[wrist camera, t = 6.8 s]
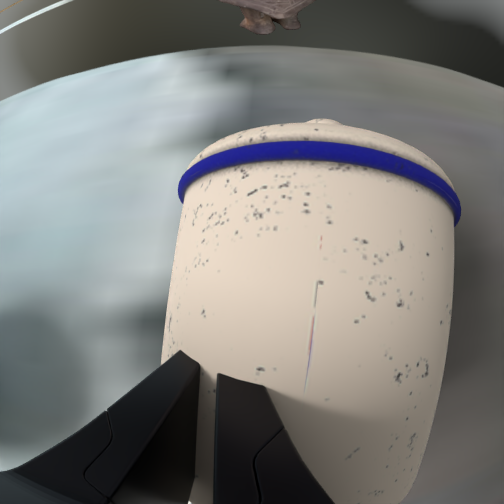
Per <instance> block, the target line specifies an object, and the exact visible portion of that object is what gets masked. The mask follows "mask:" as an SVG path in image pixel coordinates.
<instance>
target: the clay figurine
mask: <svg viewBox="0 0 504 504" xmlns="http://www.w3.org/2000/svg"><path fill="white" fill-rule="evenodd" d="M219 1H221V2H224V3H229V4H232V5H235V6H239V7H240V9H241V11H242V13H243V14H244V16H245V19H244V20H243V21H242V22H241V24H240V26H241V27H244V28H246V29H248V30H249V31H251V32H254V33H255V34H263V35H267V34H269V33H272V32H273V31H274V30H275V25H274V23H273V21H274V22H277V23H279V24H280V25H282V26H283V28H284V29H287V30H293V29H299V28H300V27H301V24H300V22H299V21H298V18H297V15H298V12H299V11H301V10H302V9H303V8H305V7H307V6H308V5H310V4H311V3H313V2H314V1H315V0H219Z"/></svg>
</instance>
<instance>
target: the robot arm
mask: <svg viewBox="0 0 504 504" xmlns="http://www.w3.org/2000/svg"><path fill="white" fill-rule="evenodd" d="M199 386H200V364H199V363H198V362H197V361H195V360H193V359H192V358H190V357H189V356H188V355H187V354H185V353H184V352H183V351H182V350H179V351H178V352H176V353H175V354H174V355H173V356H172V357H170V358H169V359H168V360H167V361H166V362H164V363H163V364H162V365H161V366H159V367H158V368H157V369H156V370H155V371H153V372H152V373H151V374H150V375H149V376H147V377H146V378H145V379H144V380H142V381H141V382H140V383H139V384H138V385H136V386H135V387H134V388H133V389H131V390H130V391H129V392H128V393H126V394H125V395H124V396H123V397H121V398H120V399H119V400H118V401H116V402H115V403H114V404H113V405H111V406H110V407H109V408H108V409H107V411H104V412H103V413H101V414H100V415H99V416H97V417H96V418H95V419H94V420H92V421H91V422H90V423H88V424H87V425H86V426H84V427H83V428H82V429H80V430H79V431H77V432H76V433H74V434H73V435H71V436H70V437H68V438H67V439H65V440H63V441H62V442H60V443H59V444H57V445H55V446H54V447H52V448H50V449H49V450H47V451H45V452H44V453H42V454H40V455H38V456H37V457H35V458H33V459H32V460H30V461H28V462H26V463H25V464H23V465H21V466H19V467H17V468H14V469H11V470H7V471H2V472H0V504H188V502H189V498H190V494H191V490H192V486H193V482H194V478H195V460H196V437H197V418H198V401H199ZM213 504H335V503H334V502H333V500H332V499H331V498H330V497H329V495H328V494H327V493H326V491H325V490H324V489H323V488H322V486H321V485H320V484H319V482H318V481H317V480H316V478H315V477H314V476H313V474H312V473H311V471H310V470H309V468H308V467H307V465H306V464H305V463H304V461H303V460H302V458H301V456H300V454H299V453H298V451H297V449H296V447H295V445H294V444H293V442H292V440H291V438H290V436H289V434H288V432H287V430H286V429H285V426H284V424H283V422H282V420H281V418H280V416H279V414H278V412H277V410H276V408H275V406H274V404H273V401H272V399H271V397H270V395H269V393H268V391H267V389H266V387H265V386H263V385H259V384H255V383H251V382H247V381H243V380H239V379H236V378H233V377H230V376H227V375H224V374H221V373H217V381H216V405H215V434H214V472H213Z"/></svg>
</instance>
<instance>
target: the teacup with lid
mask: <svg viewBox="0 0 504 504" xmlns="http://www.w3.org/2000/svg"><path fill="white" fill-rule="evenodd" d="M178 195H179V198H180V200H181V202H182V204H183V208H182V214H181V220H180V225H179V231H178V237H177V243H176V249H175V256H174V262H173V269H172V276H171V283H170V290H169V298H168V305H167V313H166V322H165V330H164V339H163V349H162V359H161V365H162V364H163V363H164V362H166V361H167V360H168V359H169V358H170V357H172V356H173V355H174V354H175V353H176V352H178V351H179V350H182V351H183V352H184V353H185V354H187V355H188V356H189V357H190V358H192V359H193V360H195V361H197V362H198V363H199V364H200V386H199V401H198V418H197V437H196V460H195V478H194V482H193V486H192V490H191V494H190V498H189V501H190V502H191V503H192V504H213V472H214V434H215V405H216V381H217V373H221V374H224V375H227V376H230V377H233V378H236V379H239V380H243V381H247V382H251V383H255V384H259V385H263V386H265V387H266V389H267V391H268V393H269V395H270V397H271V399H272V401H273V404H274V406H275V408H276V410H277V412H278V414H279V416H280V418H281V420H282V422H283V424H284V426H285V429H286V430H287V432H288V434H289V436H290V438H291V440H292V442H293V444H294V445H295V447H296V449H297V451H298V453H299V454H300V456H301V458H302V460H303V461H304V463H305V464H306V465H307V467H308V468H309V470H310V471H311V473H312V474H313V476H314V477H315V478H316V480H317V481H318V482H319V484H320V485H321V486H322V488H323V489H324V490H325V491H326V493H327V494H328V495H329V497H330V498H331V499H332V500H333V502H334V503H335V504H399V503H400V502H401V501H402V500H403V499H404V498H405V496H406V495H407V494H408V493H409V491H410V489H411V488H412V486H413V484H414V482H415V479H416V476H417V473H418V470H419V467H420V464H421V461H422V458H423V455H424V452H425V448H426V445H427V442H428V438H429V435H430V431H431V427H432V423H433V419H434V415H435V411H436V407H437V403H438V398H439V393H440V389H441V383H442V378H443V373H444V367H445V361H446V354H447V347H448V340H449V331H450V322H451V312H452V299H453V281H454V227H455V226H456V224H457V223H458V221H459V219H460V216H461V206H460V201H459V199H458V197H457V195H456V193H455V190H454V187H453V185H452V183H451V181H450V180H449V178H448V177H447V175H446V174H445V173H444V171H443V170H442V169H441V168H440V167H439V166H438V165H437V164H436V163H435V162H434V161H433V160H432V159H431V158H429V157H428V156H426V155H425V154H424V153H422V152H421V151H419V150H417V149H416V148H414V147H412V146H410V145H408V144H406V143H404V142H402V141H399V140H397V139H394V138H392V137H389V136H386V135H383V134H380V133H376V132H373V131H369V130H365V129H360V128H355V127H350V126H344V125H342V124H341V123H339V122H337V121H334V120H330V119H314V120H310V121H308V122H306V123H287V124H277V125H269V126H263V127H258V128H253V129H249V130H245V131H241V132H238V133H235V134H232V135H230V136H227V137H225V138H223V139H221V140H219V141H217V142H215V143H213V144H212V145H210V146H208V147H207V148H205V149H204V150H203V151H202V152H201V153H200V154H198V155H197V156H196V158H195V159H194V160H193V161H192V162H191V163H190V164H189V166H188V168H187V170H186V172H185V173H184V175H183V176H182V177H181V180H180V182H179V186H178Z"/></svg>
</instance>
